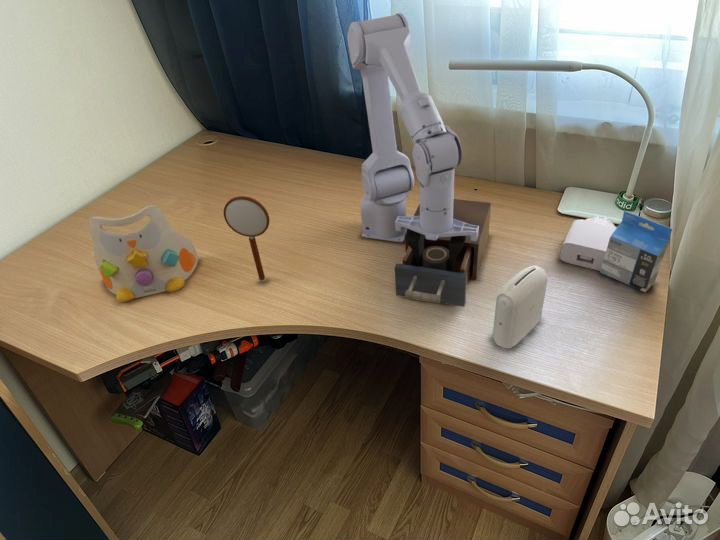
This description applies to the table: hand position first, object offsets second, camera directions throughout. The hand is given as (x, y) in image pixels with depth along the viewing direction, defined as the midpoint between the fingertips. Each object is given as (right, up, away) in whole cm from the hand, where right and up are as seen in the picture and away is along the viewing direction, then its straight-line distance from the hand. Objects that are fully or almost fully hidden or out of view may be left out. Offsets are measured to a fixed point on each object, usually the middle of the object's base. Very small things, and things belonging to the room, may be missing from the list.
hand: (435, 265), depth 100 cm
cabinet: (+4, +3, +12) cm, 12 cm away
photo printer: (+13, -12, -7) cm, 19 cm away
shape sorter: (-57, -4, +12) cm, 59 cm away
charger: (+33, +4, +10) cm, 35 cm away
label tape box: (+36, -3, +1) cm, 36 cm away
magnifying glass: (-34, -3, +9) cm, 35 cm away
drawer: (0, -4, +2) cm, 5 cm away
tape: (0, -1, +1) cm, 1 cm away
